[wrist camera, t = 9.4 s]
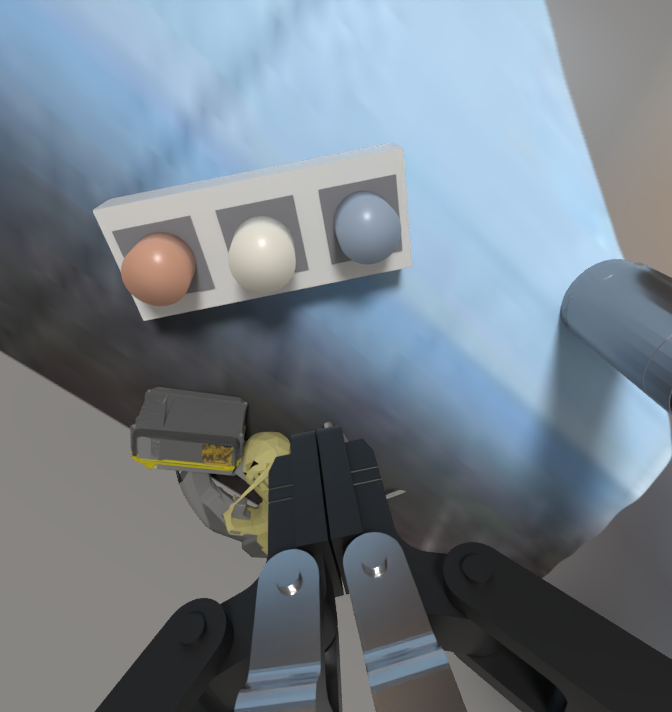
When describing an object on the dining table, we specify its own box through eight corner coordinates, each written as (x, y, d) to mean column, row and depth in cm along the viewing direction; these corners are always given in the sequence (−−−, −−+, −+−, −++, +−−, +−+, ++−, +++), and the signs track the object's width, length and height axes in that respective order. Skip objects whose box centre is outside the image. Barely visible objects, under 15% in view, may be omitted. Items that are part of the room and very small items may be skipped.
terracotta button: (184, 226, 35) (175, 239, 32) (204, 282, 38) (197, 299, 35) (123, 238, 35) (109, 252, 32) (148, 294, 38) (137, 311, 35)
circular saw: (405, 477, 60) (252, 535, 65) (304, 310, 44) (110, 403, 49) (424, 545, 52) (246, 607, 56) (308, 370, 36) (71, 475, 40)
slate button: (388, 185, 35) (398, 194, 32) (394, 244, 38) (403, 257, 35) (328, 197, 35) (333, 207, 32) (338, 255, 38) (343, 269, 35)
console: (392, 142, 38) (404, 148, 34) (401, 252, 43) (412, 267, 39) (109, 199, 37) (91, 211, 34) (154, 302, 43) (143, 321, 39)
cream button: (286, 210, 34) (287, 222, 31) (300, 269, 37) (302, 286, 34) (224, 222, 34) (219, 236, 31) (242, 281, 37) (239, 298, 34)
